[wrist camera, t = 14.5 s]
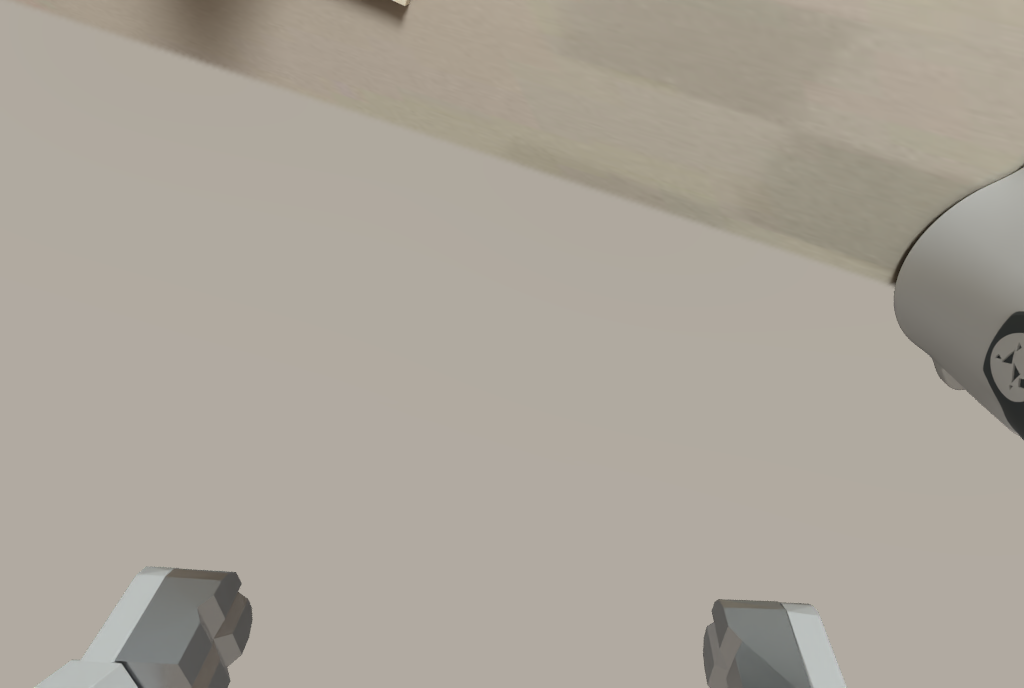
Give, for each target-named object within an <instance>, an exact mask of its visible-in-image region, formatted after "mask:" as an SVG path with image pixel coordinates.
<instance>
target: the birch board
mask: <svg viewBox="0 0 1024 688" xmlns="http://www.w3.org/2000/svg"><path fill="white" fill-rule="evenodd" d="M393 1H395V2H397V3H399V4H401V5H404V6H406V5H408V4H409V3H410V0H393Z"/></svg>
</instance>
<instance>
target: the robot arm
mask: <svg viewBox="0 0 1024 688" xmlns="http://www.w3.org/2000/svg"><path fill="white" fill-rule="evenodd" d="M894 309H895V314H896V318H897V321H898V323H899V325H900V328H901V329H902V331H903V332H904V333H905V335H906V336H907V337H908V338H909V339H910V340H911V341H912V342H913V343H914V344H915V345H917V346H918V347H919V348H921V349H922V350H923V351H925V352H926V353H927V354H929V355H930V356H931V357H932V359H933V362H934V365H935V368H936V371H937V373H938V375H939V377H940V378H941V379H942V380H943V381H944V382H945V383H946V384H947V385H948V386H949V387H951V388H953V389H956V390H966V391H967V392H969V394H971V395H972V396H973V397H974V398H975V399H976V400H977V401H978V402H979V403H980V404H981V405H982V406H984V407H985V408H986V409H987V410H988V411H989V412H990V413H991V414H993V415H994V416H995V417H996V418H997V419H998V420H999V421H1000V422H1001V423H1003V424H1004V425H1005V426H1006V427H1007V428H1008V429H1009V430H1011V431H1012V432H1013V433H1015V434H1017V435H1019V436H1020V437H1021V438H1022V439H1023V440H1024V167H1023V168H1022V169H1020V170H1018V171H1017V172H1015V173H1013V174H1011V175H1009V176H1007V177H1005V178H1003V179H1001V180H999V181H997V182H995V183H992V184H990V185H988V186H986V187H984V188H982V189H980V190H978V191H976V192H975V193H973V194H971V195H970V196H968V197H966V198H965V199H963V200H962V201H960V202H959V203H957V204H956V205H955V206H953V207H952V208H950V209H949V210H948V211H947V212H945V213H944V214H943V215H942V216H941V217H940V218H938V219H937V220H936V221H935V222H934V223H933V224H932V225H931V226H930V227H929V228H928V229H927V230H926V231H925V233H924V234H923V235H922V236H921V237H920V238H919V240H918V241H917V242H916V244H915V245H914V246H913V248H912V249H911V251H910V252H909V254H908V256H907V257H906V259H905V261H904V263H903V265H902V267H901V270H900V272H899V275H898V278H897V282H896V286H895V291H894ZM240 586H241V581H240V579H239V577H238V575H237V574H236V572H225V571H208V570H192V569H179V568H166V567H145V568H144V569H143V570H142V571H141V572H139V573H138V574H137V575H136V576H135V578H134V579H133V581H132V582H131V584H130V585H129V587H128V588H127V590H126V591H125V593H124V595H123V596H122V597H121V599H120V601H119V602H118V604H117V605H116V607H115V608H114V610H113V611H112V613H111V614H110V616H109V617H108V619H107V620H106V622H105V623H104V625H103V627H102V628H101V630H100V631H99V633H98V635H97V636H96V637H95V639H94V641H93V642H92V643H91V645H90V647H89V648H88V650H87V651H86V653H85V654H84V656H83V657H82V659H81V660H71V661H70V662H68V663H67V664H65V665H64V666H63V667H61V668H60V669H58V670H57V671H56V672H54V673H53V674H52V675H51V676H49V677H47V678H46V679H45V680H44V681H42V682H41V683H39V684H38V685H37V686H35V687H34V688H228V685H229V683H230V677H229V673H228V668H227V667H228V666H229V665H230V664H231V663H233V662H234V661H235V660H236V659H237V658H238V657H240V656H241V655H242V653H243V650H244V648H245V646H246V643H247V641H248V638H249V634H250V629H251V624H252V607H251V605H250V602H249V600H248V598H246V597H245V596H243V595H242V594H240V593H239V592H238V590H239V588H240ZM712 615H713V619H714V622H713V623H712V624H710V625H709V626H707V628H706V632H705V636H704V648H703V657H704V666H705V673H706V679H707V684H708V686H709V687H710V688H847V686H846V684H845V681H844V679H843V676H842V674H841V671H840V668H839V665H838V663H837V660H836V657H835V655H834V652H833V649H832V647H831V644H830V641H829V639H828V636H827V633H826V631H825V628H824V626H823V623H822V620H821V618H820V615H819V612H818V611H817V610H816V609H815V607H814V606H812V605H810V604H801V603H780V602H774V601H748V600H722V599H719V600H717V601H716V602H715V603H714V606H713V609H712Z"/></svg>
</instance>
